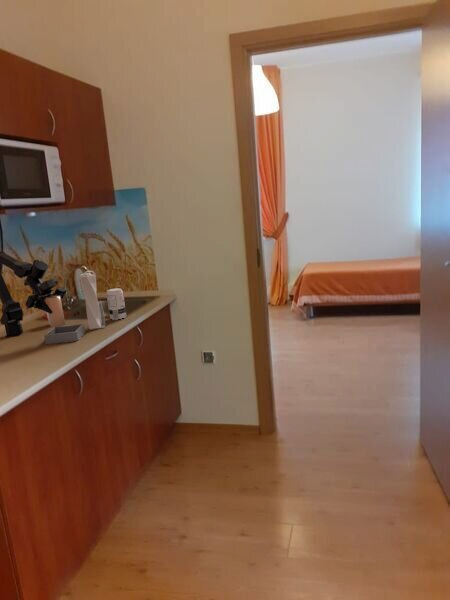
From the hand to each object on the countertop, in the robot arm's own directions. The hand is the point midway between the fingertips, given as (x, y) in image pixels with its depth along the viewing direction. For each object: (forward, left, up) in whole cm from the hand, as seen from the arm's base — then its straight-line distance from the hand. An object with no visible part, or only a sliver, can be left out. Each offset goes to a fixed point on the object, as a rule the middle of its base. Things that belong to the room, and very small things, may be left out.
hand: (57, 311), depth 208 cm
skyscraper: (+12, +17, -14) cm, 25 cm away
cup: (-1, +1, -7) cm, 7 cm away
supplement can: (+20, +32, -14) cm, 40 cm away
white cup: (-12, +34, -14) cm, 39 cm away
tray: (+1, +4, -13) cm, 14 cm away
